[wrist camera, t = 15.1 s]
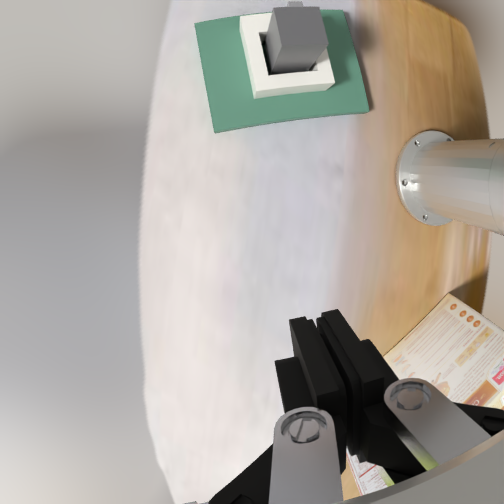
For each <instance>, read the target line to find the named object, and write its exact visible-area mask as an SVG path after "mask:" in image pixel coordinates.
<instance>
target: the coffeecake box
mask: <svg viewBox="0 0 504 504" xmlns="http://www.w3.org/2000/svg"><path fill="white" fill-rule="evenodd" d="M383 358H384V359H385V361H386V362H387V363H388V365H389V366H390V367H391V369H392V370H393V372H394V373H395V374H396V376H397V377H398V378H399V380H401V379H405V378H420V379H423V380H426V381H428V382H429V383H431V384H432V385H433V386H435V387H436V388H437V389H438V390H439V391H440V392H441V393H443V394H444V395H445V396H446V397H447V398H448V399H449V400H451V401H452V402H456V403H462V404H469V405H476V406H483V407H491V408H498V409H502V410H504V330H503V329H501V328H500V327H498V326H497V325H495V324H494V323H493V322H491V321H490V320H488V319H487V318H485V317H484V316H483V315H481V314H480V313H478V312H477V311H475V310H474V309H472V308H471V307H469V306H468V305H466V304H465V303H463V302H462V301H460V300H459V299H457V298H456V297H454V296H453V295H451V294H449V293H448V294H447V295H446V296H445V297H444V298H443V299H442V300H441V301H440V302H439V304H438V305H437V306H436V307H435V308H434V309H433V310H432V311H431V312H430V313H429V314H428V315H427V316H426V317H425V318H424V319H423V320H422V321H421V322H420V323H419V324H418V325H417V326H416V327H415V328H414V329H413V330H412V331H411V332H410V333H409V334H408V335H406V336H405V337H404V338H403V339H402V340H401V341H400V342H399V343H398V344H397V345H396V346H395V347H393V348H392V349H391V350H390V351H389V352H388V353H387V354H386V355H385V356H383Z"/></svg>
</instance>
